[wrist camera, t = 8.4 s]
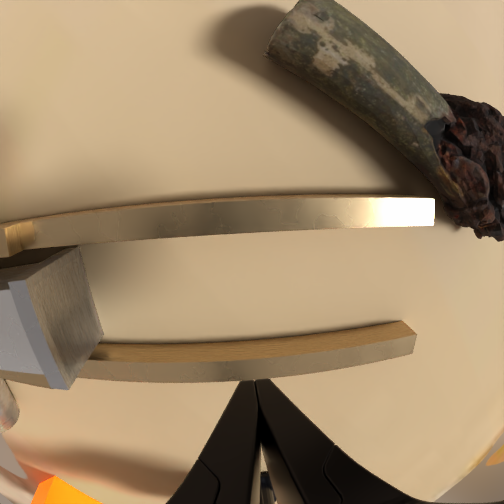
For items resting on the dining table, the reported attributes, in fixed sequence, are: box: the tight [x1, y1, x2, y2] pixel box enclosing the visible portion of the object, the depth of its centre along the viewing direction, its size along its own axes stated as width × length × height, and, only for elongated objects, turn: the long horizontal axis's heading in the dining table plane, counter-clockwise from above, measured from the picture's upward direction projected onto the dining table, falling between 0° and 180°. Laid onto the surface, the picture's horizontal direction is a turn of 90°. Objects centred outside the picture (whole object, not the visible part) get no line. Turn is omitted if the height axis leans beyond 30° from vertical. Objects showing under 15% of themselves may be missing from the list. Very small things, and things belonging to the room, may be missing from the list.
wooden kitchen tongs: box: [0, 194, 435, 433], centre depth 13 cm, size 16×36×9 cm, turn 92°
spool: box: [0, 246, 104, 390], centre depth 13 cm, size 6×10×6 cm, turn 96°
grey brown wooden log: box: [263, 0, 504, 241], centre depth 12 cm, size 18×7×6 cm, turn 55°
